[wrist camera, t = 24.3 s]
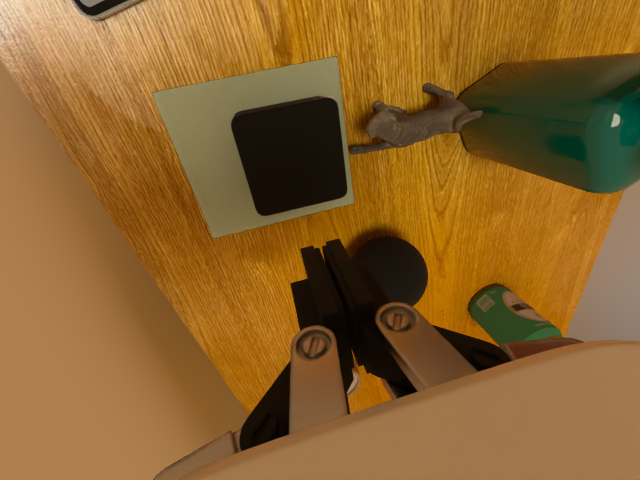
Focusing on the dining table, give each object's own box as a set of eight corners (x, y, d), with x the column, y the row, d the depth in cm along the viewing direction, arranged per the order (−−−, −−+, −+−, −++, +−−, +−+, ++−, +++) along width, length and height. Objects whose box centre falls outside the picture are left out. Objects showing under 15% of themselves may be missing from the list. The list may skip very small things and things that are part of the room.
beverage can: (514, 284, 52) (579, 334, 42) (492, 317, 55) (547, 371, 45) (480, 281, 50) (541, 333, 39) (459, 316, 53) (510, 372, 43)
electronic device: (258, 218, 30) (348, 196, 31) (227, 117, 25) (337, 95, 26) (257, 203, 34) (338, 184, 35) (230, 112, 28) (326, 94, 30)
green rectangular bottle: (525, 120, 36) (818, 162, 18) (467, 160, 37) (688, 239, 19) (510, 42, 32) (897, -16, 13) (444, 90, 32) (712, 103, 14)
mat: (213, 236, 35) (213, 238, 35) (152, 92, 27) (151, 92, 26) (353, 201, 37) (354, 203, 36) (336, 56, 29) (337, 56, 28)
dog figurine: (443, 79, 32) (492, 78, 26) (441, 132, 35) (484, 144, 28) (341, 101, 31) (365, 106, 24) (347, 154, 34) (370, 171, 27)
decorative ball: (371, 210, 38) (407, 248, 29) (417, 244, 42) (460, 285, 34) (325, 265, 41) (346, 314, 32) (373, 291, 45) (402, 340, 37)
